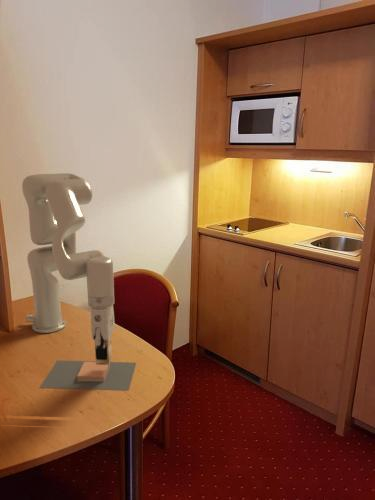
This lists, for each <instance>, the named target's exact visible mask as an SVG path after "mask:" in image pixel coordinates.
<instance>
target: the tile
mask: <svg viewBox="0 0 375 500" xmlns="http://www.w3.org/2000/svg"><path fill="white" fill-rule="evenodd" d="M109 367H110V364H109V365H96V362H84V364H83V366H82V367H81V369H80V371H79V373H78V375H77V381H101V382H104V380H105V378H106V375H107V372H108V370H109Z"/></svg>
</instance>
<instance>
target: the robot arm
mask: <svg viewBox="0 0 375 500" xmlns="http://www.w3.org/2000/svg"><path fill="white" fill-rule="evenodd" d="M21 185H22V186H21V188H22V193H23V196H24V199H25V202H26V204H27V208H28V221H29V234H30V235H29V236H30V240H31V241H32V244H34V245H37V246H42V247H37V248H34V249H32V250H31V251H29V252H28V254H27V258H26V261H27V265H28V268H29V272H30V276H31V285H32V294H33V305H34V314H26V315H25V321H26V322H27V323H32V324H31V329H32V330H33V331H34V332H36V333H41V334H49V333H55V332H58V331H60V330H63V328H65V327H66V326H67V320H66V319H65V318H64V317H62V306H61V305H62V304H61V291H60V283H59V280H58V278H57V277H56V276H55V275H53V272H56V271H58V273H59V275H60V276H61V278H63V279H64V280H65V281H73V280H79V279H82V278H84V279H85V278H86V285H87V286H86V287H87V305H88V306H89V307H90V309H91V310H90V311H91V312H90V315H91V316H90V320H91V321H90V323H91V325H90V327H91V328H90V329H91V338H92V340H93V341H94V347H95V346H96V356H95V360H96V359H97V360H107V347H106V340H108V339H109V338H110V336H111V337H112V334H113V332H114V330H115V328H116V322H115V311H114V310H115V309H114V304H115V287H114V286H115V280H114V279H115V278H114V262H113V260H112V259H111V258H110V257H107V256H105V254H104V253H103V252H102V251H101V250H98V249H97V250H95V249H93V250H89V251H81V252H77V244H76V243H77V237H76V236H77V235H76V234H77V233H76V232H77V231H79V230H80V229H82V228H83V227H84V225H85V223H86V217H85V216H84V213H83V211H82V209H81V206H82V205H87V204H90V203H91V201H92V199H93V190H92V187H91V186H90V184H89V183H88V181H87V180H86V179H85V178H83V177H81V176H78V175H75V174H74V173H65V172H63V173H39V174H32V175H28V176H26V177H25V178H24V179H23V181H22V184H21ZM46 245H48V246H46ZM95 334H96V335H95ZM101 336H102V337H101ZM95 338H96V339H95ZM100 340H103V343H102V342H101V341H100Z"/></svg>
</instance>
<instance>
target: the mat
mask: <svg viewBox="0 0 375 500" xmlns="http://www.w3.org/2000/svg"><path fill="white" fill-rule="evenodd" d="M84 362H96V360H95V361H93V360H90V361H88V360H60V359H59V360H56V362H55V363H54V365H53V366H52V368H51V369H50V370H49V372H48V374H47V375H46V376H45V378H44V380H43V381H42V383H41V385H40V386H39V389H57V390H58V389H59V390H60V389H61V390H62V389H63V390H65V389H66V390H90V391H91V390H94V391H95V390H97V391H98V390H99V391H102V390H103V391H105V390H106V391H129V390H130V388H131V387H130V386H131V383H132V380H133V376H134V373H135V372H134V371H135V370H136V367H137V362H129V361H127V362H126V361H125V362H123V361H111V362H110V367H109V370H108V372H107V375H106V378H105V380H104V382H101V381H77V375H78V373H79V371H80V369H81V367H82V366H83V364H84Z"/></svg>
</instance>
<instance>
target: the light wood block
mask: <svg viewBox="0 0 375 500" xmlns="http://www.w3.org/2000/svg"><path fill="white" fill-rule="evenodd" d="M95 335H96V334H95ZM101 337H102V336H101ZM95 339H96V338H95ZM100 341H101V342H102V343H103V340H100ZM112 346H113V345H112V335H111V336H110V338H109V339H108V340H106V347H107V360H97V359H96V358H95V361H96V365H109V364H110V362H112V359H113V350H112ZM94 352H95V353H94V355H95V357H96V346H95V345H94Z"/></svg>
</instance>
